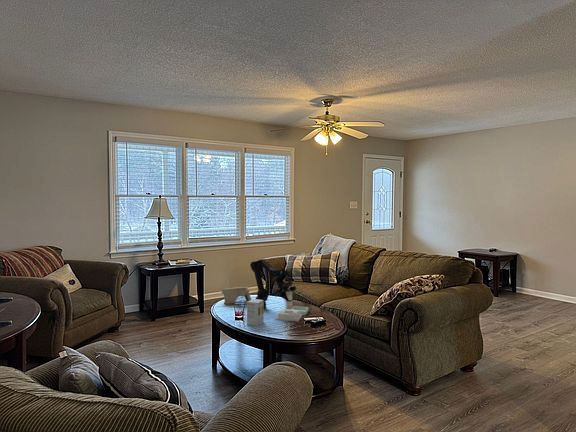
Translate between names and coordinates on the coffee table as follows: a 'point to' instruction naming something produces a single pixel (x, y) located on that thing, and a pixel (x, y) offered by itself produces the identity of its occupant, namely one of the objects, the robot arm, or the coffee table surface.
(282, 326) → the coffee table surface
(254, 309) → the supplement box
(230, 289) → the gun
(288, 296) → the cream rounded cylinder
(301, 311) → the parts tray
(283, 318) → the grey block with recess
